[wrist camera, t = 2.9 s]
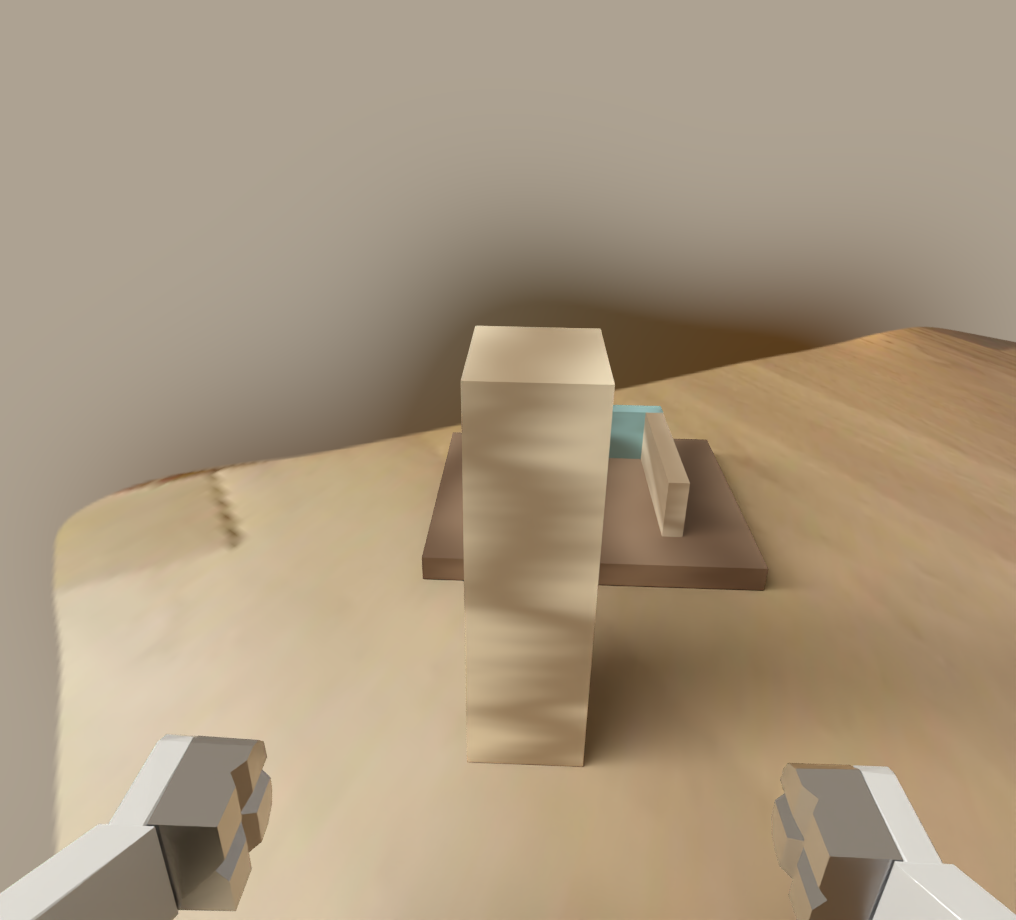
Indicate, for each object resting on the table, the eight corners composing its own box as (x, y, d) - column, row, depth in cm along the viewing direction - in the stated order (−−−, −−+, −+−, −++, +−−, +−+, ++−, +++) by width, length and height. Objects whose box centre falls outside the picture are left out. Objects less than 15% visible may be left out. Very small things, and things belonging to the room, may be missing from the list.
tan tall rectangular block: (576, 665, 30) (600, 328, 24) (582, 766, 26) (614, 385, 19) (477, 661, 30) (475, 325, 24) (466, 761, 26) (461, 381, 19)
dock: (704, 456, 47) (713, 395, 45) (763, 590, 35) (779, 512, 33) (453, 449, 48) (452, 388, 46) (422, 578, 35) (419, 501, 33)
